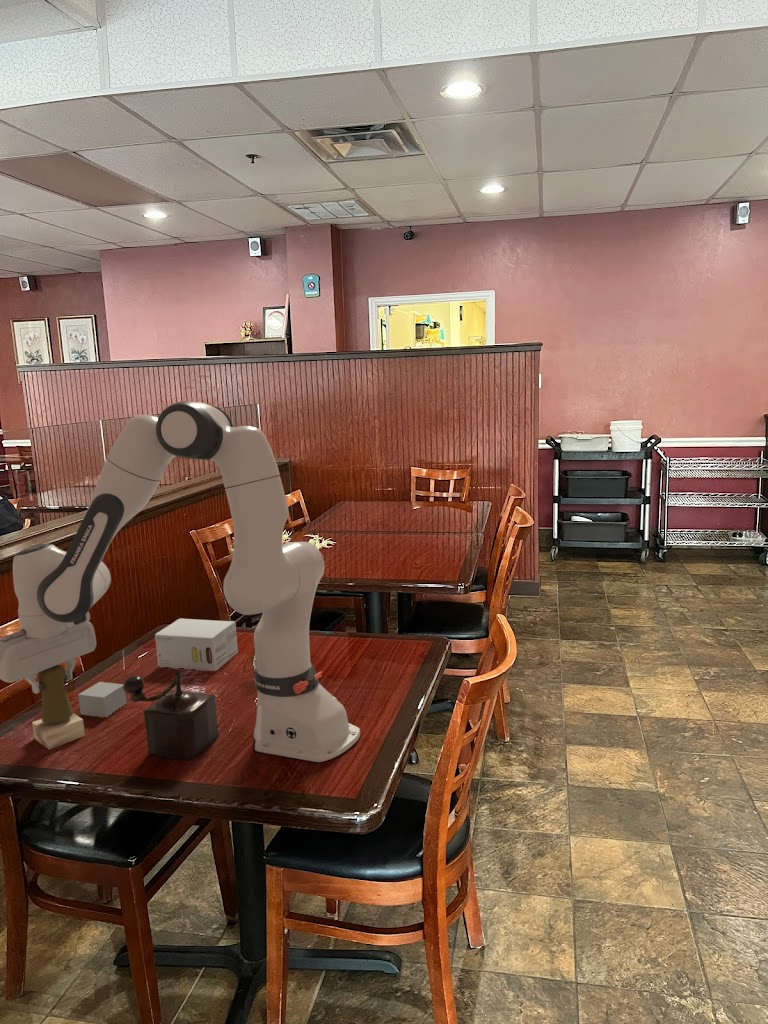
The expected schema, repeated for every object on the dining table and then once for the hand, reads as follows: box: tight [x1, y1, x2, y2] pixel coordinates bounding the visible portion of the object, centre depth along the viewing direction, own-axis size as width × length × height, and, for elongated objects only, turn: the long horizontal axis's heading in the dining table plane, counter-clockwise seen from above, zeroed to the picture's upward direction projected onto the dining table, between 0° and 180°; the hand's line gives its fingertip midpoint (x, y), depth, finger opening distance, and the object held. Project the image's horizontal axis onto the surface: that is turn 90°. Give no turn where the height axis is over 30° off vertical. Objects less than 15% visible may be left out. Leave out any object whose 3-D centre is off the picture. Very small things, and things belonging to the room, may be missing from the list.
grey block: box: [77, 681, 128, 719], centre depth 164 cm, size 7×7×5 cm
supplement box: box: [154, 618, 239, 672], centre depth 190 cm, size 17×13×9 cm
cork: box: [37, 664, 74, 723], centre depth 150 cm, size 6×6×11 cm
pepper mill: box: [123, 668, 220, 761], centre depth 142 cm, size 16×11×18 cm
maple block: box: [31, 712, 86, 751], centre depth 151 cm, size 8×8×4 cm
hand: (53, 686), depth 150 cm, fingers open, 5 cm apart
